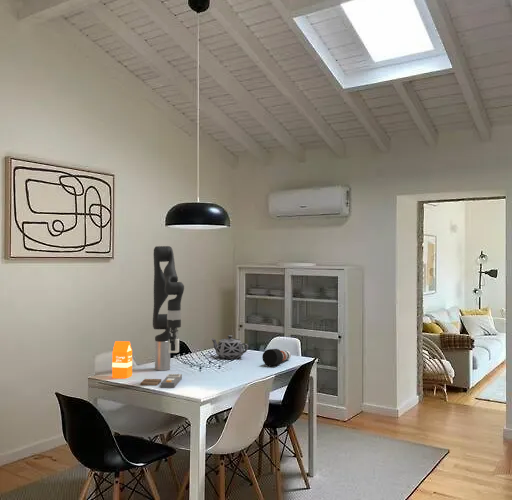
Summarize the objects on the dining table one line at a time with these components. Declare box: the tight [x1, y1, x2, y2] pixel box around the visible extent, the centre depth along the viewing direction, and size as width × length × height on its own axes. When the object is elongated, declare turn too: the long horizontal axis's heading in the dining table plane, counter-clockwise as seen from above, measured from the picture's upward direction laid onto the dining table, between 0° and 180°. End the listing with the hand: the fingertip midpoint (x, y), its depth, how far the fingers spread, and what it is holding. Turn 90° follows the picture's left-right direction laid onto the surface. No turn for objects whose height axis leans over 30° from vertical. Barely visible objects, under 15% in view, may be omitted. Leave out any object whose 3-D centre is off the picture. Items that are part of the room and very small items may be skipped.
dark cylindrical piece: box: [261, 348, 292, 367], centre depth 358 cm, size 10×34×10 cm, turn 155°
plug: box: [169, 338, 180, 354], centre depth 302 cm, size 4×5×8 cm
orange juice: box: [111, 340, 133, 379], centre depth 312 cm, size 8×9×20 cm
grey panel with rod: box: [160, 373, 183, 389], centre depth 300 cm, size 30×7×3 cm, turn 177°
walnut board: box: [139, 378, 162, 386], centre depth 296 cm, size 10×9×1 cm
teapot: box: [210, 334, 249, 360], centre depth 376 cm, size 19×31×15 cm, turn 60°
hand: (173, 349), depth 301 cm, fingers closed on plug, 4 cm apart
